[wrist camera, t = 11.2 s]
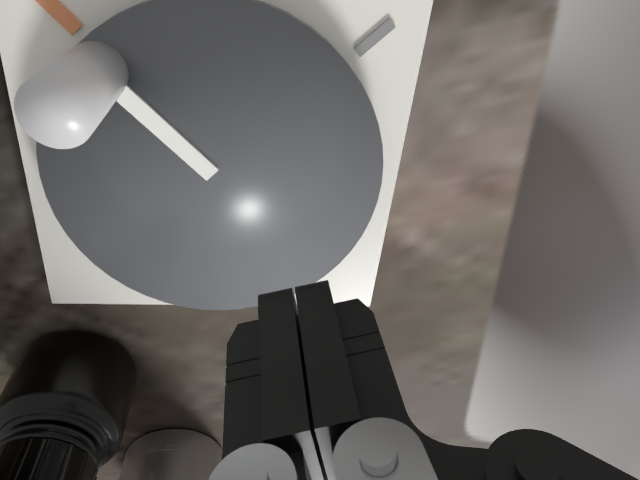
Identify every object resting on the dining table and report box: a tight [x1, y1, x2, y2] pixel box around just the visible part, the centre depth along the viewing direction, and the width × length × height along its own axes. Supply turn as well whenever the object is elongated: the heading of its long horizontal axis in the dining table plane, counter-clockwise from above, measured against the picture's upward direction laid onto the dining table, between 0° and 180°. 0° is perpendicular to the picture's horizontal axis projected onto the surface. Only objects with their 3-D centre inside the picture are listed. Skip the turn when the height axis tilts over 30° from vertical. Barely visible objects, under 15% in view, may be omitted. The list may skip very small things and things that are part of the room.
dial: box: [14, 0, 383, 310], centre depth 28 cm, size 20×20×9 cm
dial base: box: [0, 0, 433, 306], centre depth 32 cm, size 22×23×2 cm
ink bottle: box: [0, 332, 136, 480], centre depth 36 cm, size 10×9×12 cm
